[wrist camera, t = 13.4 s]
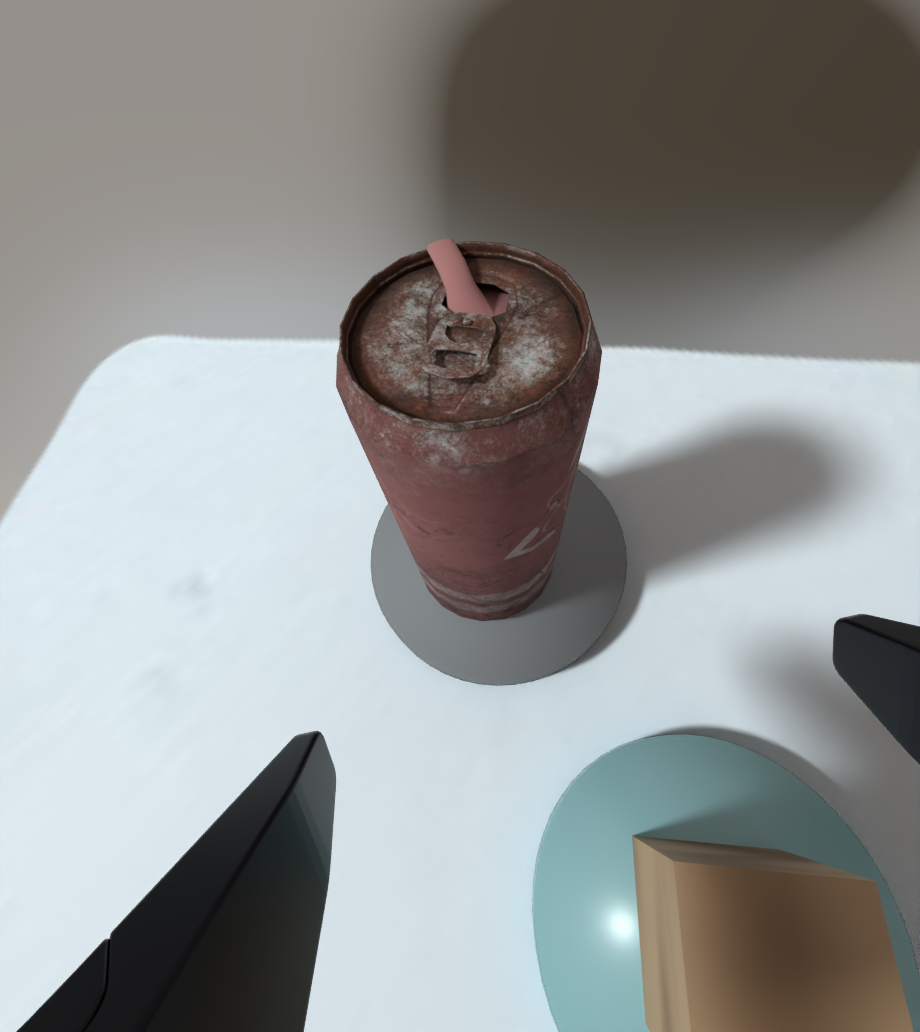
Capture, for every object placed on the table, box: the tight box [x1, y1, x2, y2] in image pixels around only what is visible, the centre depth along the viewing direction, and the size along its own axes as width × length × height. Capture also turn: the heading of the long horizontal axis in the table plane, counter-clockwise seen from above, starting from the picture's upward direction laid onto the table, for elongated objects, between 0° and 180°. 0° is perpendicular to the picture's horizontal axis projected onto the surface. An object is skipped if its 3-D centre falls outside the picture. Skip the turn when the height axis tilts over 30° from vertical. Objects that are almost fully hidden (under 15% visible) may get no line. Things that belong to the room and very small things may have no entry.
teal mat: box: [532, 734, 920, 1032], centre depth 17 cm, size 12×12×1 cm
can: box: [336, 239, 602, 621], centre depth 17 cm, size 6×6×14 cm
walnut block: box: [632, 836, 914, 1032], centre depth 14 cm, size 5×5×5 cm
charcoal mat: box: [371, 469, 627, 686], centre depth 24 cm, size 12×12×1 cm
